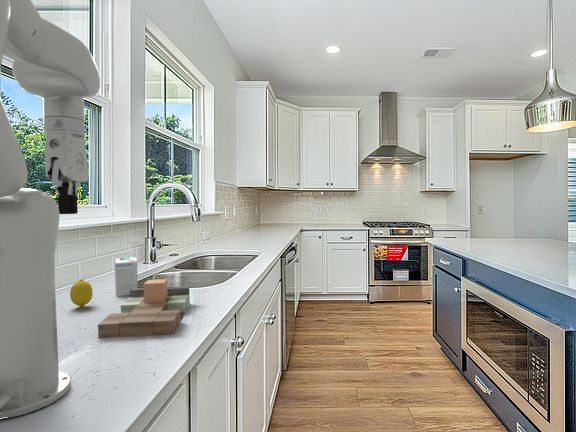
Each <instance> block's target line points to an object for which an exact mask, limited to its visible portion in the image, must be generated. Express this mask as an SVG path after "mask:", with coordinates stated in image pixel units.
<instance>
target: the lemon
mask: <svg viewBox="0 0 576 432" xmlns="http://www.w3.org/2000/svg"><path fill="white" fill-rule="evenodd" d="M93 292H94V291H93V287H92V285H91V283H90V282H88V281H86V280H84V279H79V280H77V281H76V282H74V283H73V284H72V285H71V288H70V291H69V297H70V300H71V302H72V304H74V305H75V306H78V307H80V308H84V307H85V306H86V305H87V304H89V303H90V302H91V300H92V298H93V294H94V293H93Z"/></svg>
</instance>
